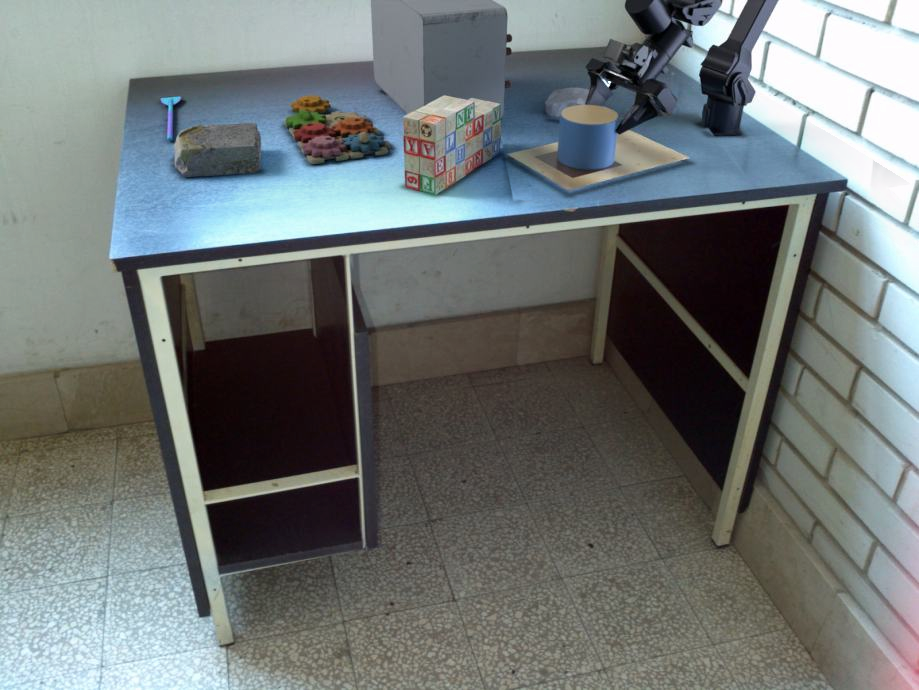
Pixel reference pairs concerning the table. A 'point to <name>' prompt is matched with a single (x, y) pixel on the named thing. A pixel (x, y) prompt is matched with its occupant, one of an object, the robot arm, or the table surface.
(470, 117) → the stack of blocks
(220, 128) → the geological specimen
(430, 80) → the vintage electronic device
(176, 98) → the blue scraper
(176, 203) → the table surface
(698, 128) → the table surface
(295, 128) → the gear puzzle
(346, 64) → the table surface
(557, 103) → the stone block
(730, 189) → the table surface
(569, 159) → the blue cylinder
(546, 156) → the birch board
